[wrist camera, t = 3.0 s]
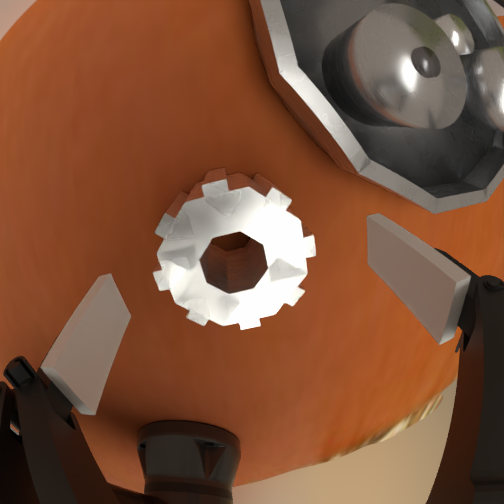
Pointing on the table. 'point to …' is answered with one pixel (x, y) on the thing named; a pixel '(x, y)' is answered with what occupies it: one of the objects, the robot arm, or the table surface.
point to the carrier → (394, 90)
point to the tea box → (497, 6)
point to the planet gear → (234, 261)
